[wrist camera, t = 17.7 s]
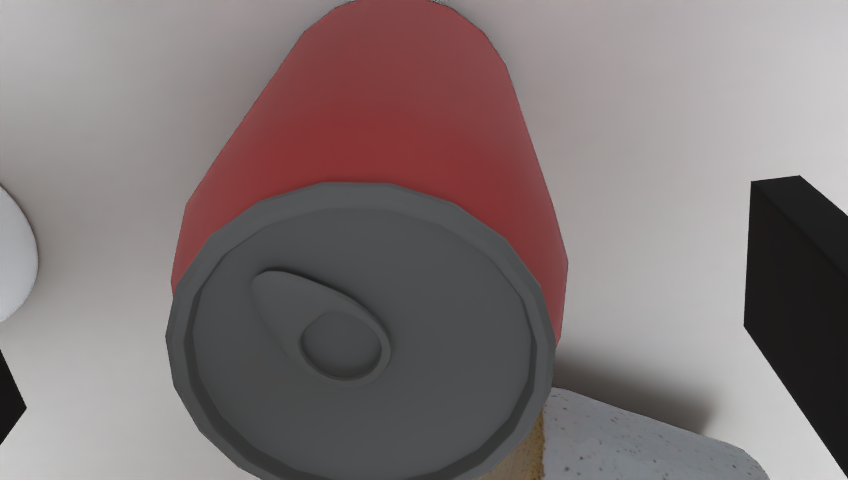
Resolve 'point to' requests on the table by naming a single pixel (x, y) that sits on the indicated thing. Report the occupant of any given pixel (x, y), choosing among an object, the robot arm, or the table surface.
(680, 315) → the table surface
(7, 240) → the beer glass
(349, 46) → the beer can
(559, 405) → the ceramic mug
